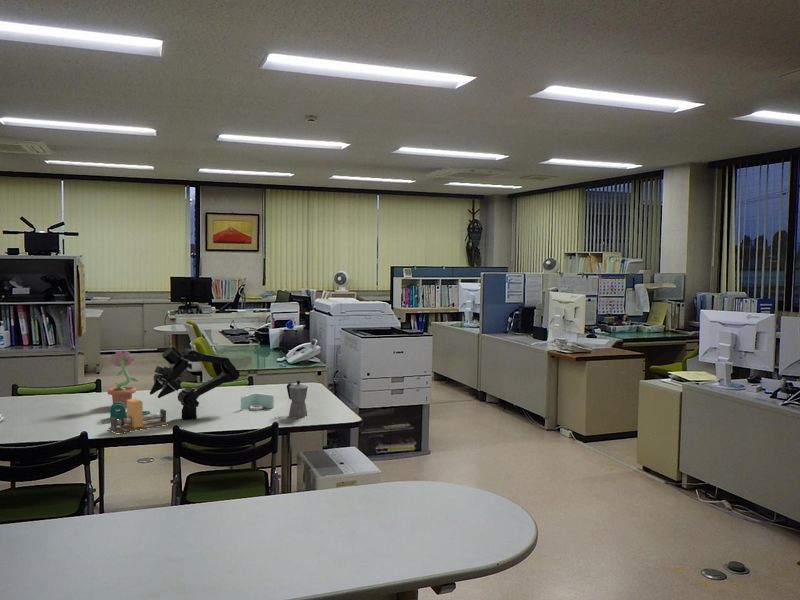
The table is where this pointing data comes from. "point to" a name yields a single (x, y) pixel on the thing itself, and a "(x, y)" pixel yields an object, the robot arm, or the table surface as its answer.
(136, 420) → the orange tan block
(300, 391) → the coffeepot
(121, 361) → the decorative flower
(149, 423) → the pipe board
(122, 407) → the bracket
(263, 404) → the l-shaped corner panel
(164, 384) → the robot arm
